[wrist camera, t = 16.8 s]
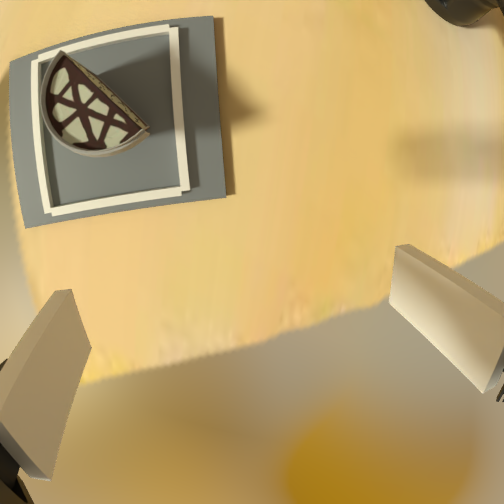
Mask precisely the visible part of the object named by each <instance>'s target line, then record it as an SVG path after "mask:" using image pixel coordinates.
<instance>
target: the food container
mask: <svg viewBox="0 0 504 504" xmlns="http://www.w3.org/2000/svg"><path fill="white" fill-rule="evenodd" d="M40 105H41V111H42V116H43V119H44V122H45V124H46V126H47V128H48V130H49V132H50V133H51V135H52V136H53V137H54V138H55V139H56V140H57V141H58V142H59V143H60V144H61V145H63V146H64V147H66V148H68V149H69V150H71V151H73V152H75V153H78V154H80V155H83V156H89V157H107V156H113V155H116V154H120V153H123V152H125V151H127V150H129V149H131V148H133V147H135V146H136V145H138V144H139V143H141V142H142V141H143V140H144V139H146V138H147V137H148V136H149V135H150V133H148V132H146V130H147V129H148V128H149V127H150V126H149V125H148V124H147V123H146V122H145V121H144V120H143V119H142V118H141V117H140V116H139V115H138V114H137V113H136V112H135V111H134V110H133V109H132V108H131V107H130V106H129V105H127V104H126V103H125V102H124V101H123V100H122V99H121V98H120V97H119V96H118V95H117V94H116V93H115V92H114V91H113V90H112V89H111V88H110V87H109V86H108V85H107V84H106V83H105V82H104V81H102V80H101V79H100V78H99V77H98V76H97V75H96V74H94V73H93V72H92V71H90V70H89V69H87V68H86V67H84V66H83V65H82V64H80V63H79V62H77V61H76V60H74V59H73V58H71V57H70V56H68V55H67V54H66V53H65V52H64V51H62V50H60V51H59V52H58V53H57V54H56V56H55V57H54V58H53V60H52V62H51V63H50V65H49V67H48V69H47V71H46V73H45V76H44V79H43V82H42V86H41V94H40Z"/></svg>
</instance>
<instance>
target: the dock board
mask: <svg viewBox="0 0 504 504" xmlns="http://www.w3.org/2000/svg"><path fill="white" fill-rule="evenodd" d="M60 50H62V51H64V52H65V53H66V54H67V55H68V56H70V57H71V58H73V59H74V60H76V61H77V62H79V63H80V64H82V65H83V66H84V67H86V68H87V69H89V70H90V71H92V72H93V73H94V74H96V75H97V76H98V77H99V78H100V79H101V80H102V81H104V82H105V83H106V84H107V85H108V86H109V87H110V88H111V89H112V90H113V91H114V92H115V93H116V94H117V95H118V96H119V97H120V98H121V99H122V100H123V101H124V102H125V103H126V104H127V105H129V106H130V107H131V108H132V109H133V110H134V111H135V112H136V113H137V114H138V115H139V116H140V117H141V118H142V119H143V120H144V121H145V122H146V123H147V124H148V125H149V126H150V127H149V128H148V129H147V130H146V132H148V133H150V135H149V136H148V137H147V138H146V139H144V140H143V141H142V142H141V143H139V144H138V145H136V146H135V147H133V148H131V149H129V150H127V151H125V152H123V153H120V154H116V155H113V156H107V157H89V156H83V155H80V154H78V153H75V152H73V151H71V150H69V149H68V148H66V147H64V146H63V145H61V144H60V143H59V142H58V141H57V140H56V139H55V138H54V137H53V136H52V135H51V133H50V132H49V130H48V128H47V126H46V124H45V122H44V119H43V116H42V111H41V105H40V94H41V86H42V82H43V79H44V76H45V73H46V71H47V69H48V67H49V65H50V63H51V62H52V60H53V58H54V57H55V56H56V54H57V53H58V52H59V51H60ZM9 106H10V127H11V140H12V151H13V160H14V168H15V175H16V182H17V188H18V194H19V200H20V205H21V210H22V215H23V220H24V225H25V229H26V228H31V227H36V226H41V225H46V224H51V223H57V222H62V221H68V220H73V219H79V218H85V217H90V216H96V215H102V214H109V213H115V212H121V211H128V210H134V209H141V208H148V207H155V206H162V205H170V204H177V203H185V202H193V201H201V200H210V199H219V198H226V188H225V176H224V164H223V152H222V139H221V126H220V112H219V99H218V84H217V69H216V54H215V37H214V20H213V16H203V17H190V18H180V19H171V20H163V21H156V22H149V23H143V24H137V25H132V26H126V27H121V28H117V29H112V30H108V31H103V32H99V33H95V34H91V35H87V36H83V37H80V38H76V39H73V40H69V41H66V42H63V43H60V44H57V45H54V46H51V47H48V48H45V49H42V50H39V51H36V52H34V53H31V54H28V55H26V56H23V57H21V58H18V59H16V60H13V61H11V62H10V70H9Z"/></svg>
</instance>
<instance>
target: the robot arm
mask: <svg viewBox="0 0 504 504" xmlns="http://www.w3.org/2000/svg"><path fill="white" fill-rule="evenodd" d="M425 1H426V3H427V4H428V5H429V6H430V7H431V8H432V9H433V10H434V11H435V12H436V13H437V14H438V15H439V16H441V17H442V18H443V19H445V20H446V21H448V22H450V23H452V24H454V25H458V26H464V25H468V24H472V23H475V22H476V21H478V19H479V18H481V17H482V16H484V15H485V14H486V13H487V12H489V11H490V10H491V9H493V8H497V7H500V9H501V11H502V13H503V16H504V0H425ZM389 304H390V305H391V306H393V307H394V308H395V309H396V310H397V311H398V312H399V313H400V314H401V315H402V316H403V317H405V318H406V319H407V320H408V321H409V322H410V323H411V324H412V325H413V326H414V327H415V328H416V329H417V330H419V331H420V332H421V333H422V334H423V335H424V336H425V337H426V338H427V339H428V340H429V341H430V342H431V343H432V344H433V345H434V346H435V347H436V348H437V349H438V350H439V351H440V352H441V353H442V354H443V355H445V356H446V357H447V358H448V359H449V360H450V361H451V362H452V363H453V364H454V365H455V366H456V367H457V368H458V369H459V370H460V371H461V372H462V373H463V374H464V375H465V376H466V377H467V378H468V379H469V380H470V381H471V382H472V383H473V384H474V385H475V386H476V387H477V388H478V389H479V390H480V391H481V393H485V392H487V391H488V390H490V389H491V388H493V387H495V386H496V385H497V383H498V381H499V379H500V376H501V374H502V372H504V302H502V301H501V300H499V299H498V298H496V297H495V296H493V295H492V294H490V293H489V292H487V291H486V290H484V289H483V288H481V287H479V286H478V285H476V284H475V283H473V282H472V281H470V280H468V279H467V278H465V277H464V276H462V275H461V274H459V273H457V272H456V271H454V270H452V269H451V268H449V267H447V266H446V265H444V264H442V263H441V262H439V261H437V260H436V259H434V258H432V257H431V256H429V255H427V254H426V253H424V252H422V251H420V250H419V249H417V248H415V247H413V246H412V245H410V244H407V245H400V246H395V257H394V266H393V275H392V283H391V291H390V298H389ZM91 348H92V347H91V345H90V342H89V340H88V337H87V334H86V332H85V329H84V326H83V323H82V320H81V317H80V314H79V311H78V308H77V305H76V302H75V299H74V296H73V293H72V289H68V290H59V291H55V292H54V293H53V294H52V296H51V297H50V298H49V300H48V301H47V302H46V304H45V305H44V307H43V308H42V309H41V311H40V312H39V313H38V315H37V316H36V318H35V319H34V321H33V322H32V323H31V325H30V326H29V328H28V329H27V331H26V332H25V334H24V335H23V337H22V338H21V340H20V341H19V343H18V344H17V346H16V347H15V349H14V350H13V352H12V353H11V355H10V357H9V358H8V359H6V360H5V361H4V362H3V363H1V364H0V504H34V502H33V500H32V498H31V497H30V495H29V493H28V491H27V489H26V487H25V485H24V483H23V481H22V480H21V479H20V477H19V476H18V475H17V474H18V471H19V468H20V467H21V468H22V469H23V470H24V471H25V472H26V473H27V474H28V475H29V477H31V478H35V479H41V480H47V481H51V480H52V476H53V471H54V467H55V463H56V459H57V455H58V451H59V447H60V444H61V440H62V436H63V433H64V429H65V425H66V422H67V419H68V415H69V412H70V409H71V406H72V403H73V400H74V397H75V394H76V391H77V388H78V385H79V382H80V379H81V376H82V373H83V370H84V367H85V365H86V362H87V359H88V356H89V354H90V351H91ZM503 394H504V384H503V386H502V388H501V390H500V392H499V394H498V396H497V400H496V401H497V402H499V400H500V398H501V397H502V395H503ZM503 402H504V399H503Z"/></svg>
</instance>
